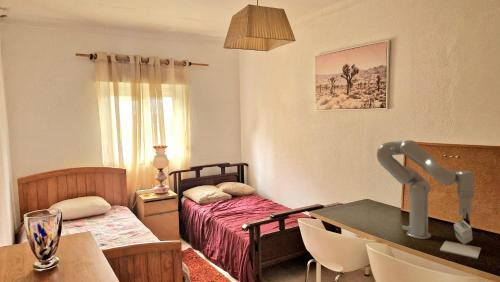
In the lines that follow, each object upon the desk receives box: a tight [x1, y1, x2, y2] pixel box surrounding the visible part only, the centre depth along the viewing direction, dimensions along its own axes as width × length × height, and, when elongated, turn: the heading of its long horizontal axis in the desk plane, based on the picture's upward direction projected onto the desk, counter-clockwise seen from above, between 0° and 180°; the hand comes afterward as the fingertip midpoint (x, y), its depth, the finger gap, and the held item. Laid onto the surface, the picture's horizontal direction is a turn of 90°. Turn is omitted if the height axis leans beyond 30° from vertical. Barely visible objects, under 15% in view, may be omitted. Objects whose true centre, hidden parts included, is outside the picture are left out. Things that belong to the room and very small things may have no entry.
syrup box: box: [453, 218, 474, 245], centre depth 168 cm, size 6×6×14 cm
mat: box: [439, 240, 482, 259], centre depth 165 cm, size 16×15×1 cm
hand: (466, 227), depth 172 cm, fingers closed
